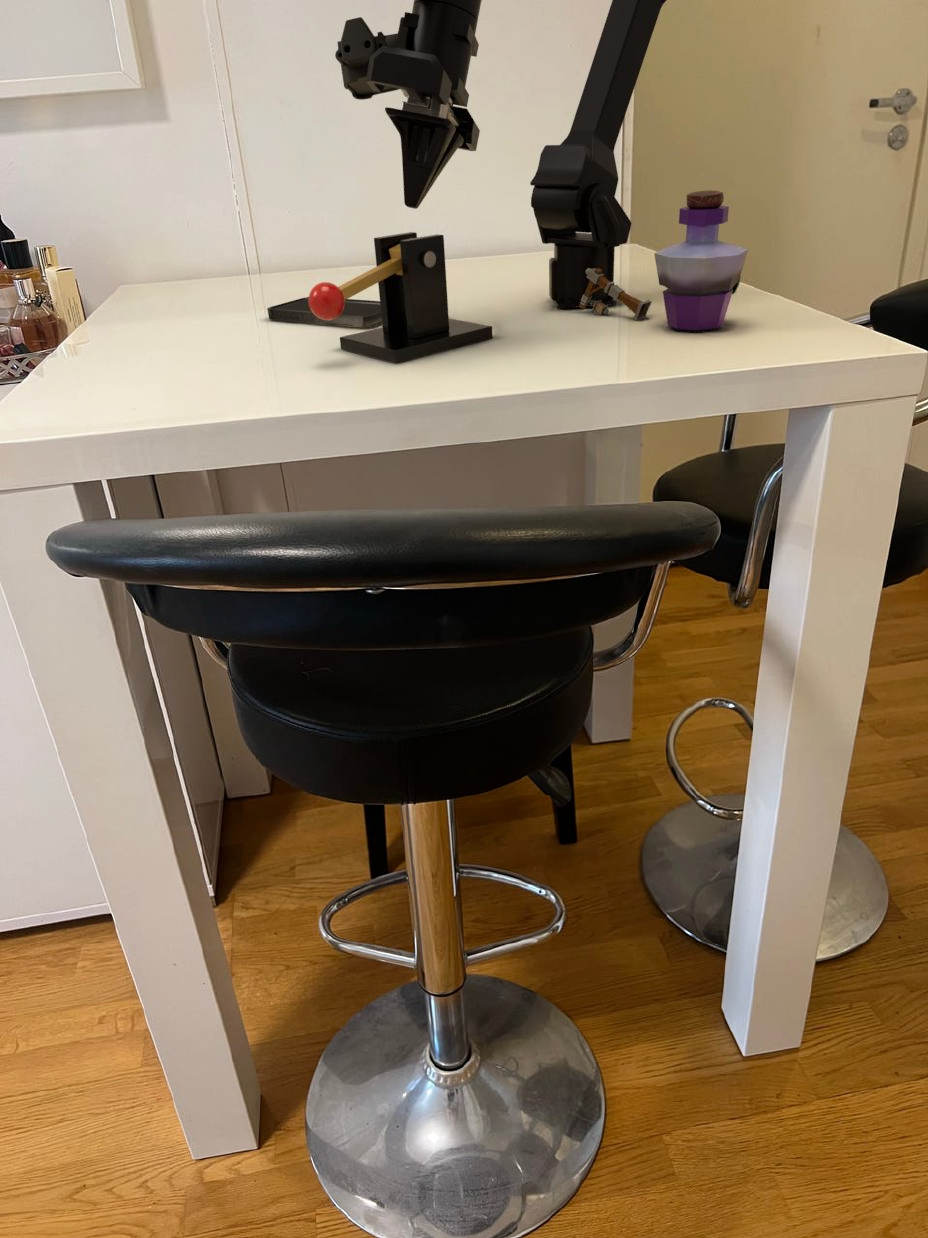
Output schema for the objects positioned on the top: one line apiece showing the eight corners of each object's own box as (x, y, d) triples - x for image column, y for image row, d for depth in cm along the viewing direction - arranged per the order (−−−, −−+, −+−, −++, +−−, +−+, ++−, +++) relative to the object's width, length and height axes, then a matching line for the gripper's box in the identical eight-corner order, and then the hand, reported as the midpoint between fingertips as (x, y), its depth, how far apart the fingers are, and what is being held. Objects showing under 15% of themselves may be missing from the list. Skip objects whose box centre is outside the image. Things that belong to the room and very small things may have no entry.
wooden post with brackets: (579, 300, 96) (594, 261, 93) (635, 338, 94) (652, 299, 90) (569, 303, 95) (584, 263, 92) (626, 342, 93) (643, 302, 89)
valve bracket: (396, 363, 81) (385, 248, 76) (340, 349, 87) (327, 241, 82) (493, 338, 87) (488, 230, 82) (435, 326, 93) (428, 225, 88)
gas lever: (328, 328, 78) (316, 292, 76) (309, 323, 80) (296, 289, 78) (436, 269, 83) (427, 234, 81) (415, 266, 86) (406, 232, 84)
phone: (308, 296, 106) (409, 302, 99) (309, 305, 107) (410, 313, 99) (262, 309, 101) (365, 317, 93) (263, 319, 101) (366, 328, 94)
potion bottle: (759, 324, 86) (774, 187, 80) (701, 340, 82) (712, 197, 76) (690, 313, 92) (699, 185, 86) (632, 327, 88) (637, 194, 82)
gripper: (385, 39, 87) (357, 209, 91) (322, -50, 69) (291, 166, 74) (495, 59, 85) (461, 230, 90) (459, -27, 68) (419, 192, 72)
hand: (410, 207), depth 81 cm, fingers closed
